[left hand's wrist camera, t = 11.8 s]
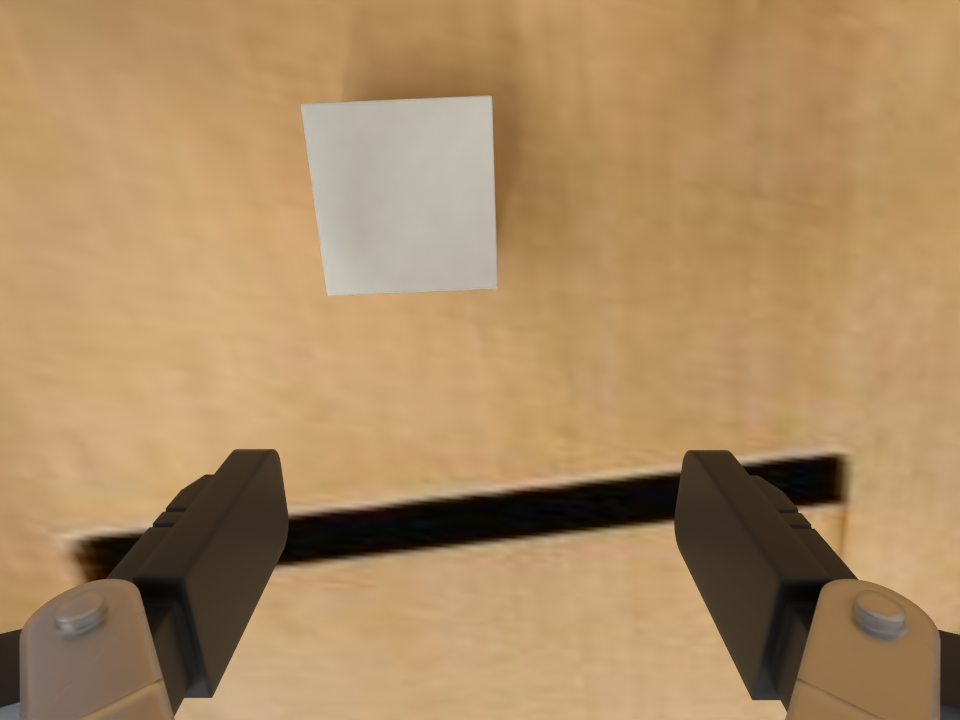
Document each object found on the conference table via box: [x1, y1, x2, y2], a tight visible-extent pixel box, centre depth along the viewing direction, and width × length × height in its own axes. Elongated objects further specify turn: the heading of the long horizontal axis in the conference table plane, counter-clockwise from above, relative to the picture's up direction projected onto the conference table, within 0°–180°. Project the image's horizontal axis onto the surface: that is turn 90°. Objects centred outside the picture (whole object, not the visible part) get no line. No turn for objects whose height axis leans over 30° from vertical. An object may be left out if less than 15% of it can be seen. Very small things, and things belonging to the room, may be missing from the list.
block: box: [301, 95, 498, 296], centre depth 17 cm, size 5×5×4 cm
